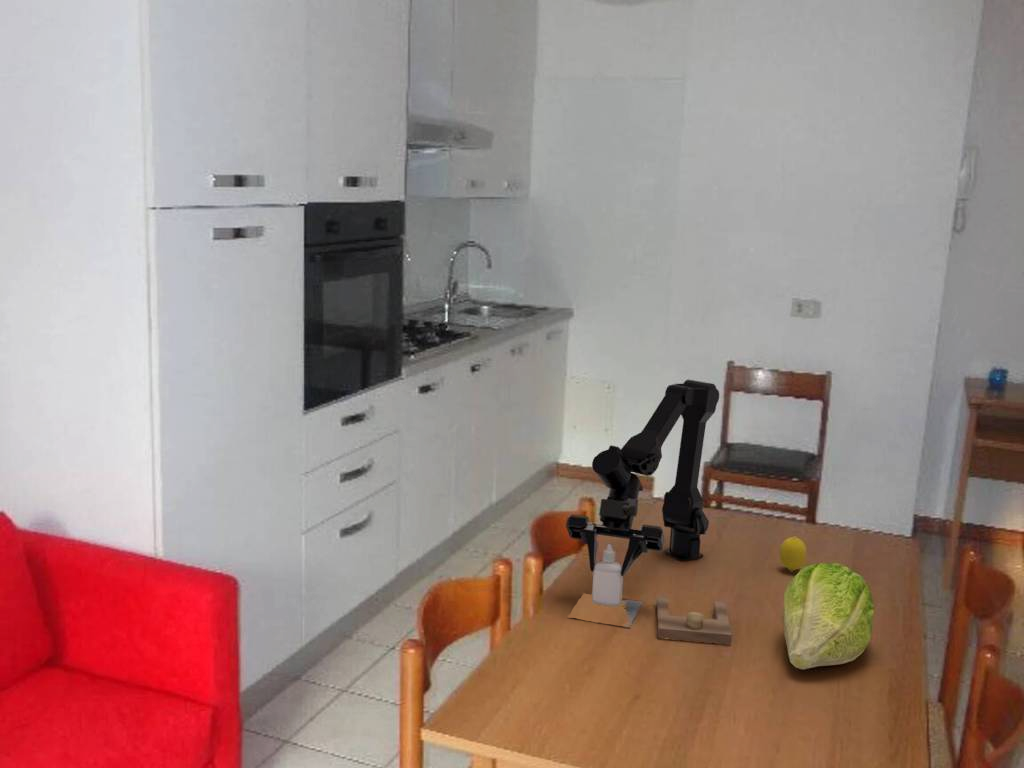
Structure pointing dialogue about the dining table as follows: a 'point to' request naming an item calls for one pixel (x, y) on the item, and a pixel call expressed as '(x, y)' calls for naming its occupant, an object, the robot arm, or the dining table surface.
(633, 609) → the slate mat
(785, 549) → the lemon
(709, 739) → the dining table surface
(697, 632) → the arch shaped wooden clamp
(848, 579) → the lettuce
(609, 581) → the eye dropper bottle
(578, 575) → the dining table surface
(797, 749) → the dining table surface
